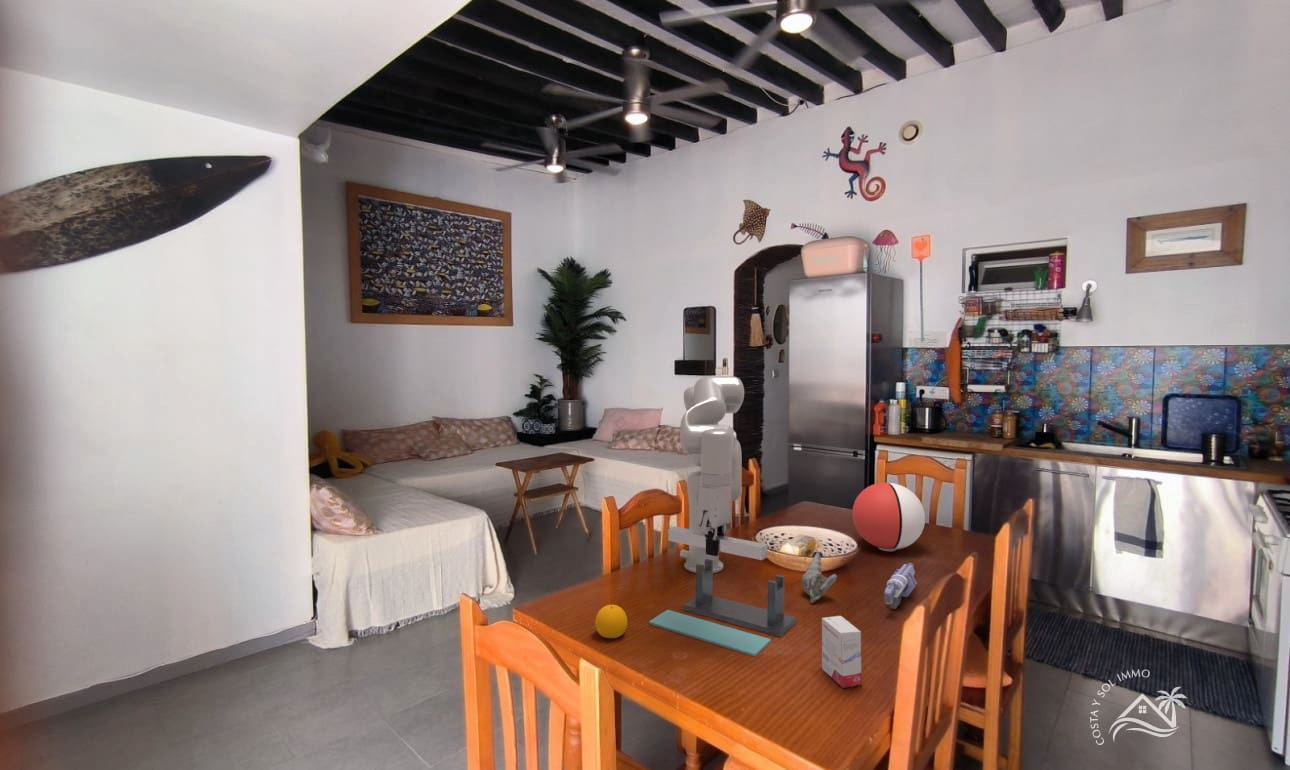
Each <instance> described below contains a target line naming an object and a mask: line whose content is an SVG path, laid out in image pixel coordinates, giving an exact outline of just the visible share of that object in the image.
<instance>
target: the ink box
mask: <svg viewBox="0 0 1290 770" xmlns="http://www.w3.org/2000/svg"><path fill="white" fill-rule="evenodd" d="M861 636H862V631H861V630H859V628H857V627H856V626H855V625H853V624H852V623H851V622H850V621H849V620H847V619H845V618H844V617H843V616H842V615H833V616H828V617H826V616H825V617H822V618H821V667H822V668H821V669H822V670H823V671H824V672H825V673H826V674H827V675H828V676H830V678H832V679H833V680H834V681H835V683H837V684H838V685H839V686H840V687H841V688H843V689H845V688H850V687H855V686H860V685H862V684H863V683H862V639H861V638H862V637H861Z"/></svg>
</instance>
